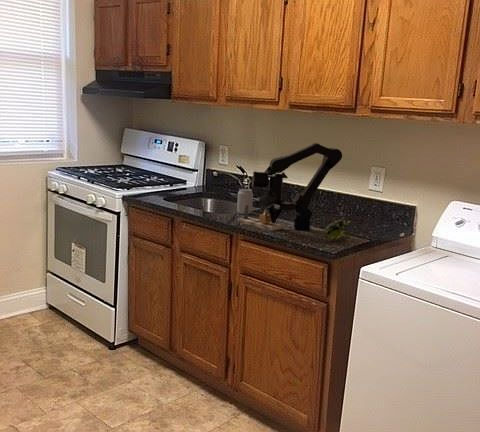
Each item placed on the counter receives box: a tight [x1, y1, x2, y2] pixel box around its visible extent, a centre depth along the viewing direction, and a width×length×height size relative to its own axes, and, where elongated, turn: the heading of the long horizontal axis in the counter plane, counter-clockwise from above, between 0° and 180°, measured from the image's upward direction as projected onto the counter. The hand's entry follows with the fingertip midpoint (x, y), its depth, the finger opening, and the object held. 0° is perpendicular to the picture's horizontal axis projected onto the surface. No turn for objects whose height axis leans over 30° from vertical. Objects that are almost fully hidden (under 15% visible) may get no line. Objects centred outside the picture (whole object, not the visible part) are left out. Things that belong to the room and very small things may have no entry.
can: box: [236, 188, 254, 215], centre depth 267 cm, size 8×8×12 cm
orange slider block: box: [259, 208, 272, 224], centre depth 241 cm, size 4×4×6 cm
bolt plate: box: [236, 204, 283, 232], centre depth 243 cm, size 21×7×8 cm, turn 46°
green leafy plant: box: [324, 216, 352, 242], centre depth 223 cm, size 11×11×12 cm
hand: (273, 223), depth 238 cm, fingers closed
